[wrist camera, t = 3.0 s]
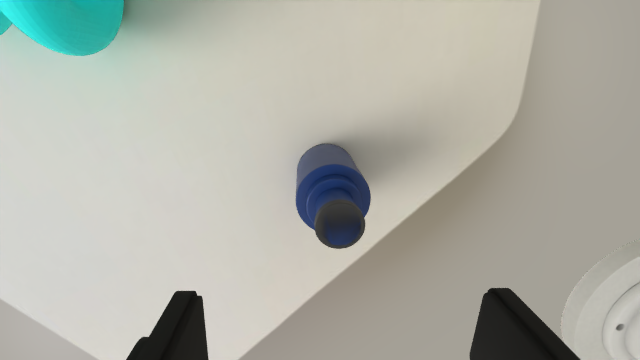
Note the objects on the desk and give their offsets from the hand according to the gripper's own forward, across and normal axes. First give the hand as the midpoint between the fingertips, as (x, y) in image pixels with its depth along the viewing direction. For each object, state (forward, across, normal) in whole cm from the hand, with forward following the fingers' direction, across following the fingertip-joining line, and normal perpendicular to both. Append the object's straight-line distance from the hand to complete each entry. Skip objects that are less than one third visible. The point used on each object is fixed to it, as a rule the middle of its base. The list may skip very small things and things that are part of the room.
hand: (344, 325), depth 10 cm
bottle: (+19, -1, 0) cm, 19 cm away
